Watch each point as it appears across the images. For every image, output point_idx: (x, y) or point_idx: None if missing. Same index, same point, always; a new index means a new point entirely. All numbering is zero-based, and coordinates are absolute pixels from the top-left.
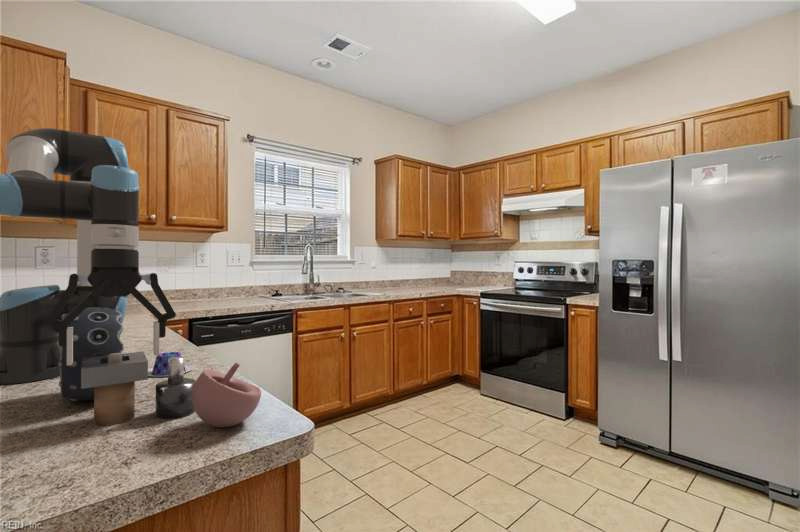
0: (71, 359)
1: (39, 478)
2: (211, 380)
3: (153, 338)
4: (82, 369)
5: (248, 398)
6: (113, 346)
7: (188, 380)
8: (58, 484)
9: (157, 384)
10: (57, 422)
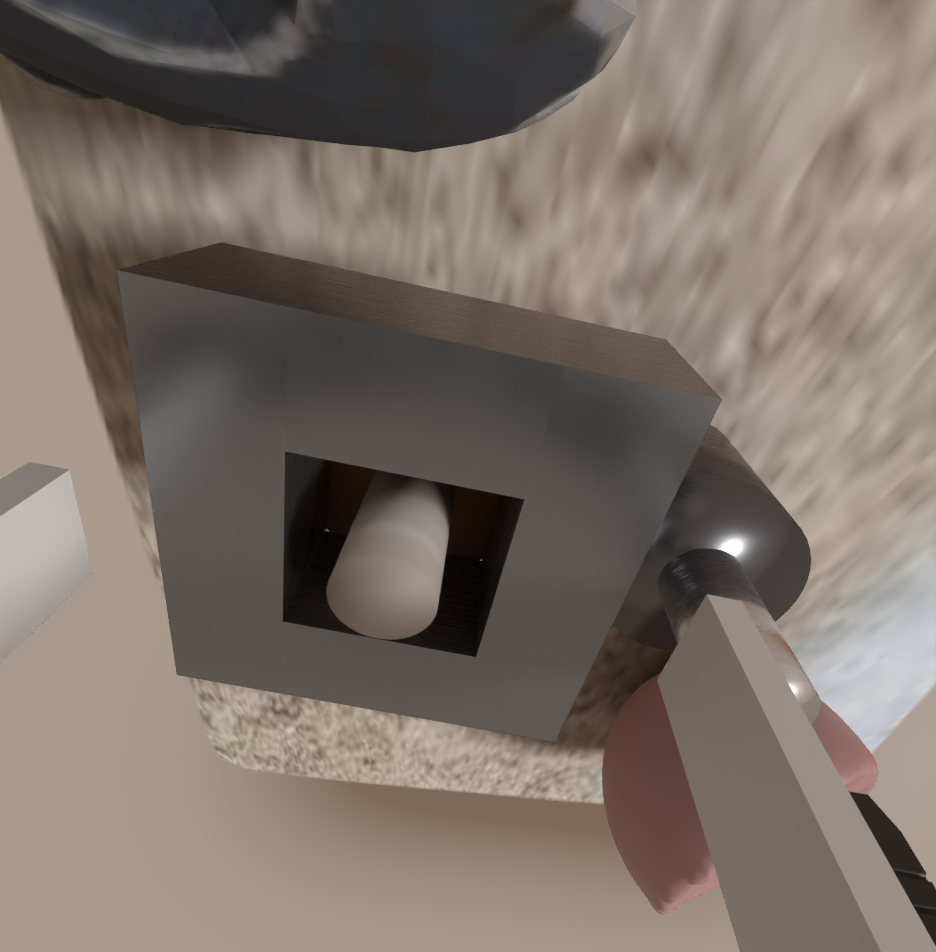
0: (55, 604)
1: None
2: (655, 909)
3: (772, 732)
4: (186, 671)
5: None
6: (450, 101)
7: (773, 581)
8: (274, 702)
9: None
10: (223, 220)
